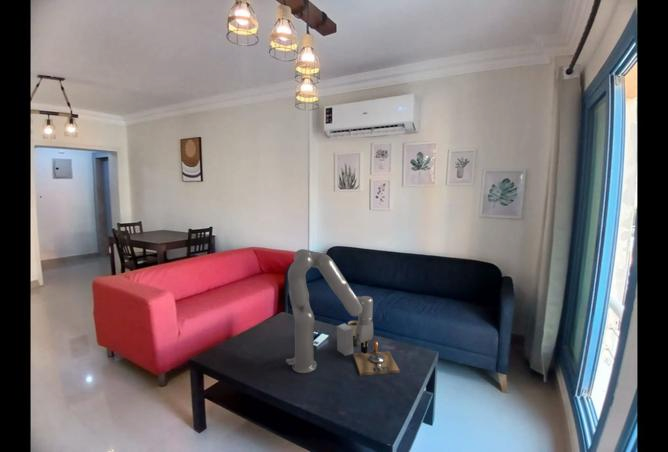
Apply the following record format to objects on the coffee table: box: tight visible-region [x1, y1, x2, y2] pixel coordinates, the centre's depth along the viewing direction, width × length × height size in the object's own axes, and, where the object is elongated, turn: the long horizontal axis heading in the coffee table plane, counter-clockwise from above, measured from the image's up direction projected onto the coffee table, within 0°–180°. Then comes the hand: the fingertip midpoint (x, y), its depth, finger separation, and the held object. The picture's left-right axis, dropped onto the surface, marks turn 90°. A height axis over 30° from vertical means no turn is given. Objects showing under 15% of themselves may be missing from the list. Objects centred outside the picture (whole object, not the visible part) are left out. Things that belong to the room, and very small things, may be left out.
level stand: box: [352, 350, 400, 377], centre depth 164 cm, size 20×18×2 cm
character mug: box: [347, 320, 359, 347], centre depth 184 cm, size 11×7×13 cm, turn 75°
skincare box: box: [336, 323, 354, 357], centre depth 176 cm, size 8×6×15 cm
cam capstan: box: [369, 340, 385, 368], centre depth 164 cm, size 18×8×6 cm, turn 179°
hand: (364, 352), depth 169 cm, fingers closed
